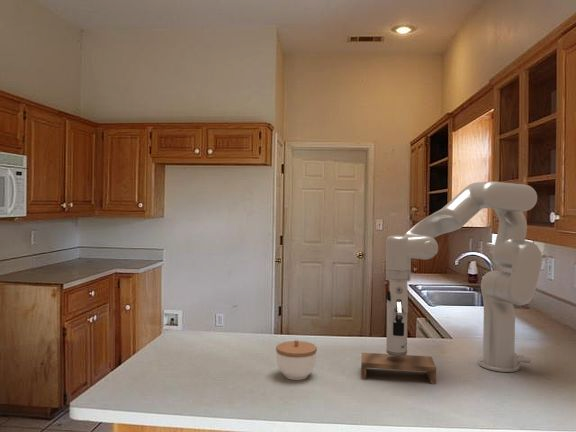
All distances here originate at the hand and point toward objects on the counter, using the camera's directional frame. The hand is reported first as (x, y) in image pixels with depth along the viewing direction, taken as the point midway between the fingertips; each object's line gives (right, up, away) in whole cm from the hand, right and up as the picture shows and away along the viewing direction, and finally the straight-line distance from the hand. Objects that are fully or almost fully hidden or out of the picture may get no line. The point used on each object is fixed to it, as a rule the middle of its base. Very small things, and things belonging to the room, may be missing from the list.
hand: (397, 331), depth 143 cm
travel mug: (0, -7, 0) cm, 7 cm away
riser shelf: (0, -14, 0) cm, 14 cm away
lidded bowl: (-32, -14, -1) cm, 35 cm away
